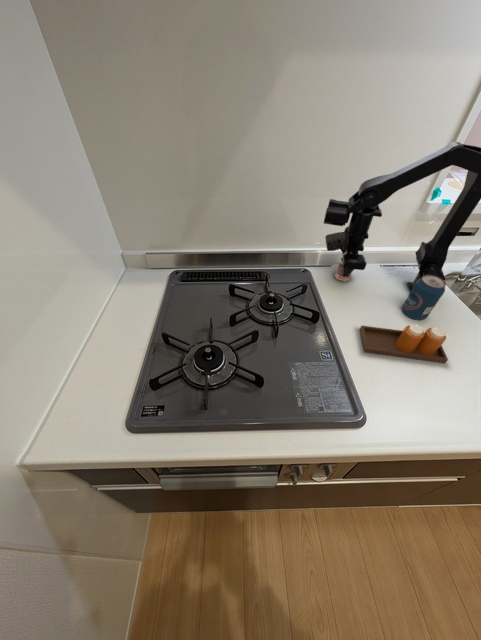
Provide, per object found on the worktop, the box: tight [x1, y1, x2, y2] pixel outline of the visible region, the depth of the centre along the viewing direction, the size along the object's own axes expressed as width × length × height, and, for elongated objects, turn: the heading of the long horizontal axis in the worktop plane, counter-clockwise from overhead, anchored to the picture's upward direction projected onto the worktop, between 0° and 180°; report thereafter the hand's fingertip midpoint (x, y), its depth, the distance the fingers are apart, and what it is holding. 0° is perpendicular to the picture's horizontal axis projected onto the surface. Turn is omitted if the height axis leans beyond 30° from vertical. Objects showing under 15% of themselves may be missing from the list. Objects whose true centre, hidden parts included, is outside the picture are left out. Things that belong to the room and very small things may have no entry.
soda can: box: [401, 275, 447, 321], centre depth 77 cm, size 7×7×12 cm
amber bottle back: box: [416, 326, 447, 355], centre depth 69 cm, size 4×4×6 cm
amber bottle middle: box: [396, 324, 425, 353], centre depth 69 cm, size 4×4×6 cm
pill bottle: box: [334, 252, 353, 282], centre depth 91 cm, size 5×5×8 cm
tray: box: [359, 325, 449, 364], centre depth 71 cm, size 8×19×2 cm, turn 80°
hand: (343, 271), depth 92 cm, fingers closed on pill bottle, 5 cm apart
